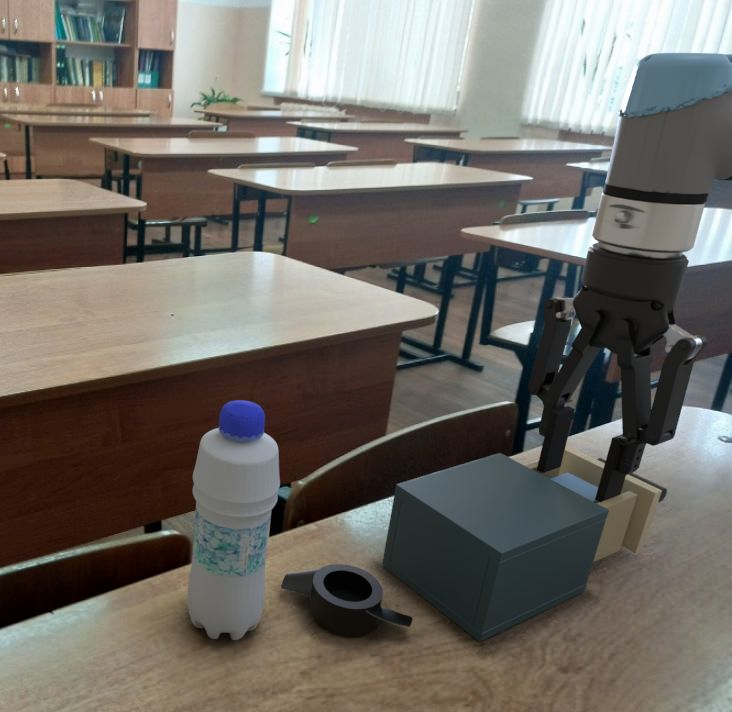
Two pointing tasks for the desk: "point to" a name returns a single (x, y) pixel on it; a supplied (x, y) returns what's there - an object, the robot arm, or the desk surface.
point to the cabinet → (492, 542)
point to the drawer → (615, 502)
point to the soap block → (577, 485)
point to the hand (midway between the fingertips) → (577, 482)
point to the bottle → (232, 521)
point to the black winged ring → (344, 599)
